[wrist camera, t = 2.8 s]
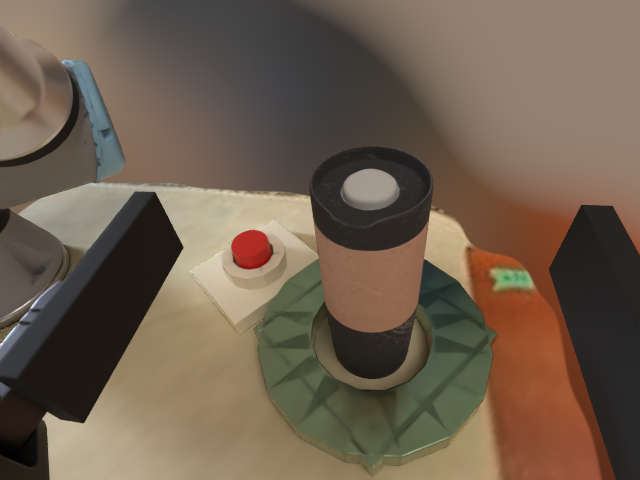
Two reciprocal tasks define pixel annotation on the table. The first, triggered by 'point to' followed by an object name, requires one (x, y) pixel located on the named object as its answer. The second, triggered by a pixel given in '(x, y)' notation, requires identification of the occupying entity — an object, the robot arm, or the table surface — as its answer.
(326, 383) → the ring
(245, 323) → the switch box
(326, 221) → the travel mug
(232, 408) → the table surface
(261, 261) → the switch button
